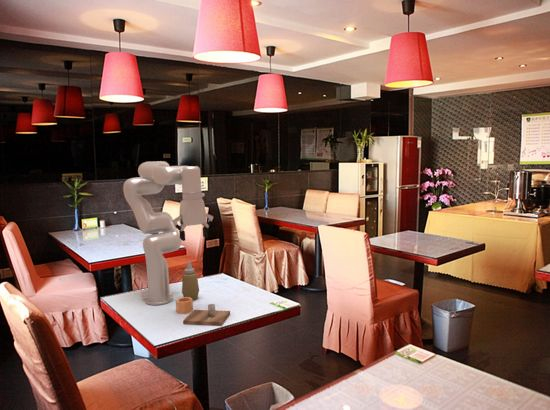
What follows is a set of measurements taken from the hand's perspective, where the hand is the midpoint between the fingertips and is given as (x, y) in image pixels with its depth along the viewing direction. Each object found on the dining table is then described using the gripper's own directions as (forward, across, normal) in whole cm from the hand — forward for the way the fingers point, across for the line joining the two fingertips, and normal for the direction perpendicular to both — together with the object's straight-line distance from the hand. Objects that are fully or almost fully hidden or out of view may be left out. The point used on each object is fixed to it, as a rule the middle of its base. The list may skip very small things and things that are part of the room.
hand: (194, 238), depth 169 cm
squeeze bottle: (+33, -6, -24) cm, 41 cm away
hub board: (+33, -2, +4) cm, 34 cm away
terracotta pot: (+33, +2, -11) cm, 35 cm away
